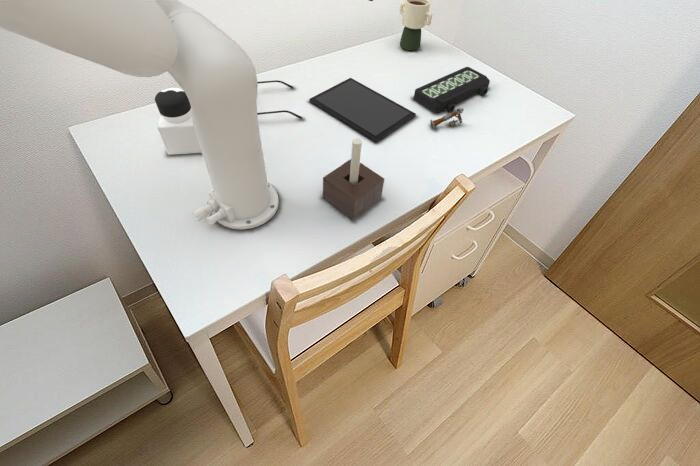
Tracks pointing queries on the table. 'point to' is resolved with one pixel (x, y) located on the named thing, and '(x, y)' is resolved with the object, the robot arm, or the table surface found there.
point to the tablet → (363, 109)
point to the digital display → (451, 90)
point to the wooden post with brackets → (447, 117)
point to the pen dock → (352, 189)
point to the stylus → (355, 161)
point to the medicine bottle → (176, 122)
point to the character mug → (414, 22)
